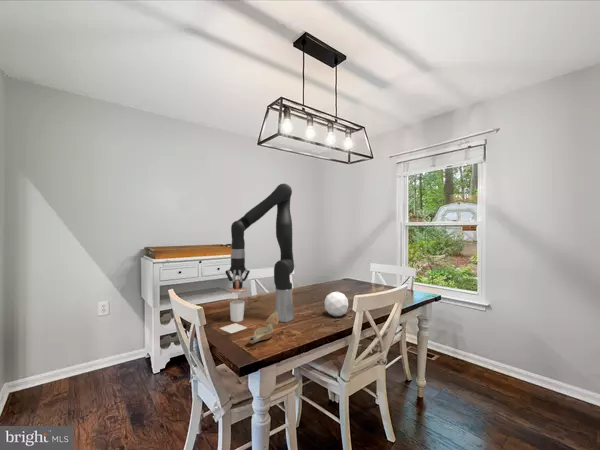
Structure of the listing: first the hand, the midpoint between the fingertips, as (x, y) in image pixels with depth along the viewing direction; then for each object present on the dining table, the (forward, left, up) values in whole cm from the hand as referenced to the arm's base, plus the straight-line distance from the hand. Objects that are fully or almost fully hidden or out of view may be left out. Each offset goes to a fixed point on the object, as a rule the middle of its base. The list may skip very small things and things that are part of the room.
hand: (237, 288), depth 152 cm
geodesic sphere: (-36, -44, -18) cm, 59 cm away
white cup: (0, 0, -18) cm, 18 cm away
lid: (0, 0, -1) cm, 1 cm away
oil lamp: (-29, +7, -18) cm, 35 cm away
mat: (-9, +9, -17) cm, 22 cm away
